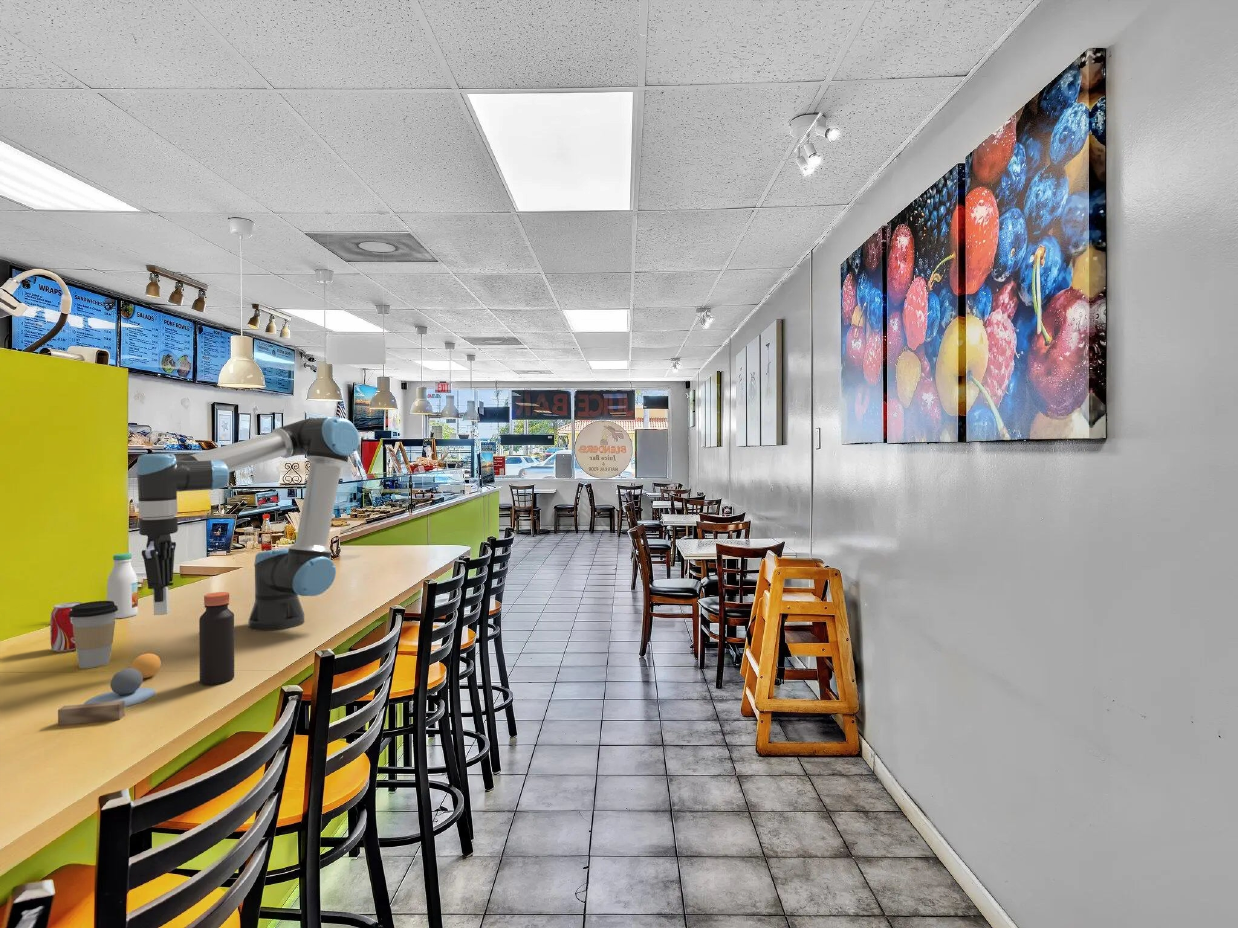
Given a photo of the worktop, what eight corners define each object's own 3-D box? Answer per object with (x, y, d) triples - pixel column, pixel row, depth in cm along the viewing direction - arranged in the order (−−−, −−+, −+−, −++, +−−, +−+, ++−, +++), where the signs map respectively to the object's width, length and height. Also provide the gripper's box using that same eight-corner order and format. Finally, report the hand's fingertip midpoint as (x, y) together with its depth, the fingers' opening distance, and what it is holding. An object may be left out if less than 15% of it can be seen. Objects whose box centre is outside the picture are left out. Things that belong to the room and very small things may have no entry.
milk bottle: (124, 619, 194) (124, 556, 194) (100, 619, 195) (100, 555, 194) (143, 613, 202) (143, 552, 202) (120, 612, 202) (120, 552, 202)
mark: (165, 685, 139) (165, 685, 139) (139, 706, 127) (139, 705, 127) (101, 691, 136) (101, 690, 136) (69, 713, 124) (69, 712, 124)
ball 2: (153, 653, 143) (152, 678, 142) (165, 650, 148) (165, 674, 147) (126, 656, 141) (125, 681, 141) (140, 653, 147) (139, 677, 146)
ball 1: (145, 661, 137) (133, 677, 132) (148, 682, 138) (137, 698, 133) (115, 664, 135) (103, 679, 130) (119, 685, 137) (107, 701, 132)
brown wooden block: (124, 715, 123) (124, 700, 123) (119, 719, 121) (119, 704, 121) (64, 720, 121) (64, 705, 120) (58, 725, 119) (57, 709, 119)
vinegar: (210, 675, 146) (210, 591, 146) (240, 674, 146) (240, 590, 146) (192, 685, 139) (192, 597, 139) (223, 685, 139) (223, 597, 139)
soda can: (64, 654, 160) (64, 608, 160) (43, 652, 162) (42, 606, 162) (92, 646, 167) (92, 602, 167) (72, 644, 169) (71, 600, 169)
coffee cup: (127, 660, 156) (127, 601, 156) (84, 673, 147) (84, 610, 147) (102, 656, 159) (102, 598, 159) (59, 668, 150) (58, 607, 150)
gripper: (152, 515, 154) (155, 608, 155) (126, 521, 142) (130, 622, 143) (187, 513, 156) (190, 605, 157) (164, 520, 144) (168, 620, 145)
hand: (161, 613), depth 150 cm, fingers closed
